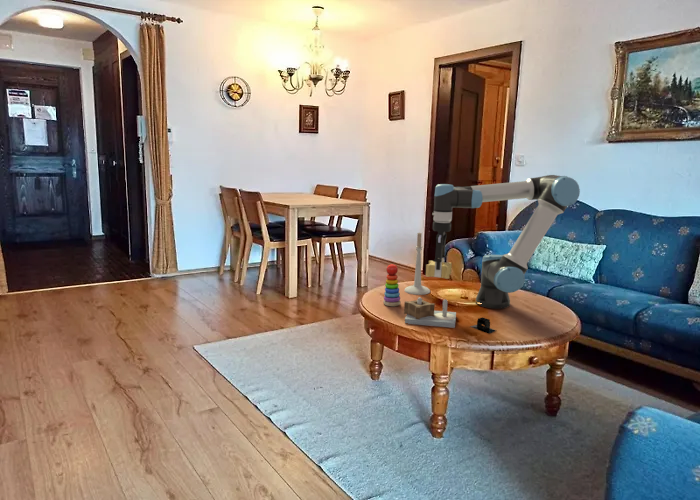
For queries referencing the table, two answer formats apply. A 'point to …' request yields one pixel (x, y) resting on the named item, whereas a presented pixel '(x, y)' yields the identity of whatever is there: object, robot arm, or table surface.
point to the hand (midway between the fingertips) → (438, 274)
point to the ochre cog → (444, 272)
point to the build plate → (482, 328)
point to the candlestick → (418, 273)
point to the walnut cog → (419, 309)
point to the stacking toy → (392, 287)
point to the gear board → (434, 317)
